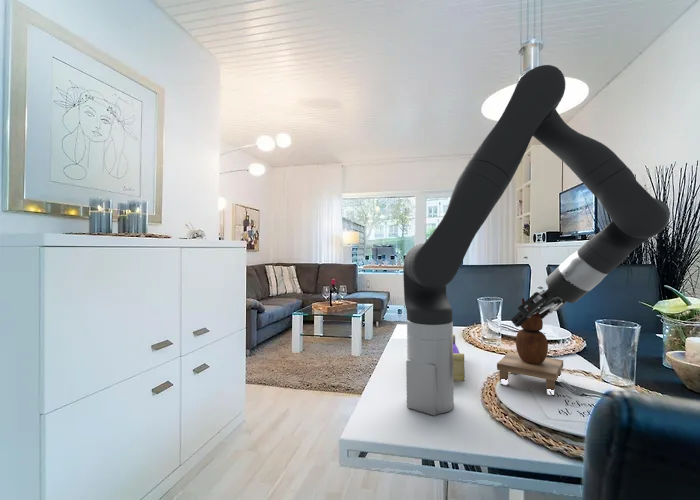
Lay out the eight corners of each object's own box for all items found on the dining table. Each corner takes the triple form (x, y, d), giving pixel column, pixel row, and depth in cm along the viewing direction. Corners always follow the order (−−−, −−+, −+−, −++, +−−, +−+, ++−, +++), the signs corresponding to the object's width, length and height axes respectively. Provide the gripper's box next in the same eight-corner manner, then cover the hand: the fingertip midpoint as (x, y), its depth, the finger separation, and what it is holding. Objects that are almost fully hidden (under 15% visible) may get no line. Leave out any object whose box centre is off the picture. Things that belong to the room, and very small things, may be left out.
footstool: (556, 397, 73) (555, 374, 73) (497, 384, 81) (496, 363, 81) (563, 380, 83) (563, 360, 83) (510, 370, 90) (509, 351, 90)
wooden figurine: (511, 359, 84) (510, 297, 84) (529, 356, 86) (528, 296, 86) (533, 367, 77) (533, 301, 77) (553, 364, 79) (552, 300, 79)
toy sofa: (465, 382, 83) (465, 340, 83) (428, 380, 84) (428, 339, 84) (455, 357, 103) (455, 323, 103) (426, 355, 105) (425, 322, 105)
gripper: (577, 263, 80) (529, 306, 89) (545, 264, 72) (496, 312, 81) (604, 287, 75) (550, 330, 85) (574, 292, 67) (518, 339, 77)
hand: (524, 321), depth 83 cm, fingers open, 8 cm apart
